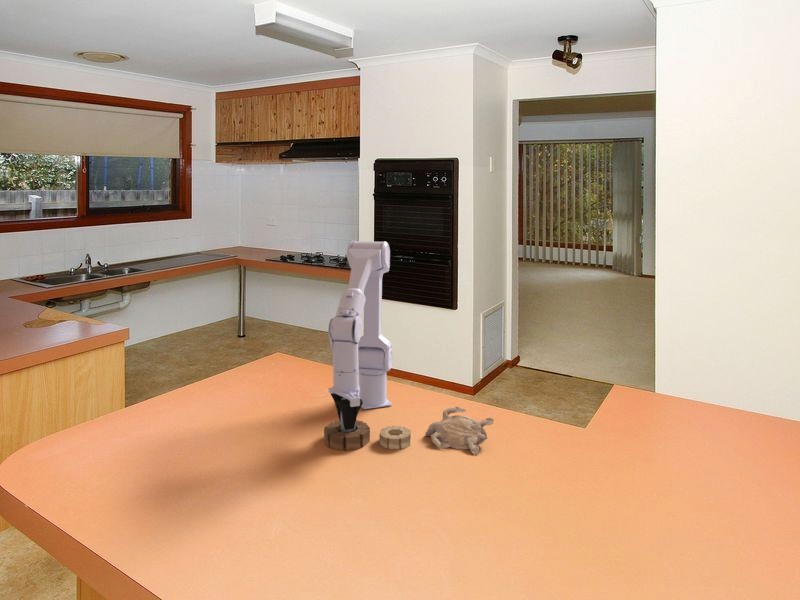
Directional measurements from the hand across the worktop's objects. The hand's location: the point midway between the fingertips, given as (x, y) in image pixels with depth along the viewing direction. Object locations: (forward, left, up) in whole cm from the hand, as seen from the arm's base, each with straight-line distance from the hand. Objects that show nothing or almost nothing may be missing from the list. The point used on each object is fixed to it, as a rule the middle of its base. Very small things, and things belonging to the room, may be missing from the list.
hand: (346, 425), depth 138 cm
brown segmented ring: (0, 0, -4) cm, 4 cm away
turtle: (+10, +24, -4) cm, 26 cm away
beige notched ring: (+5, +10, -4) cm, 12 cm away
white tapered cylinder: (0, 0, -3) cm, 3 cm away
